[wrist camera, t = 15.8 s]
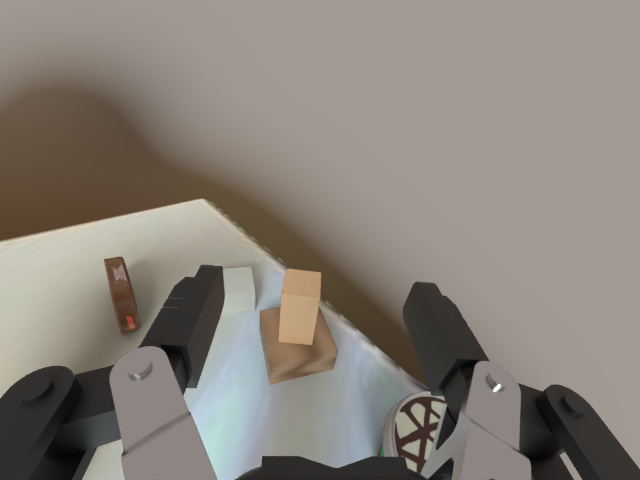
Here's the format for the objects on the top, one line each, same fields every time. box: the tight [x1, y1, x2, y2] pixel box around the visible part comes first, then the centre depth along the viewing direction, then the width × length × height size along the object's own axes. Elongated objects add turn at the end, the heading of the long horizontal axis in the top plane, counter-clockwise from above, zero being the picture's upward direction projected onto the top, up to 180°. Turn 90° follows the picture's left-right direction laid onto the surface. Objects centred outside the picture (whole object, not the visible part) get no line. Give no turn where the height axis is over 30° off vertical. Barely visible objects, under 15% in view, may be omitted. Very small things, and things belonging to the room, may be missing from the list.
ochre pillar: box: [279, 269, 321, 345], centre depth 40 cm, size 5×5×10 cm
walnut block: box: [260, 307, 338, 384], centre depth 44 cm, size 10×10×5 cm
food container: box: [378, 392, 446, 474], centre depth 31 cm, size 12×6×10 cm, turn 135°
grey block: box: [221, 266, 255, 315], centre depth 51 cm, size 7×7×5 cm
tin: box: [104, 257, 141, 335], centre depth 44 cm, size 15×3×8 cm, turn 37°
